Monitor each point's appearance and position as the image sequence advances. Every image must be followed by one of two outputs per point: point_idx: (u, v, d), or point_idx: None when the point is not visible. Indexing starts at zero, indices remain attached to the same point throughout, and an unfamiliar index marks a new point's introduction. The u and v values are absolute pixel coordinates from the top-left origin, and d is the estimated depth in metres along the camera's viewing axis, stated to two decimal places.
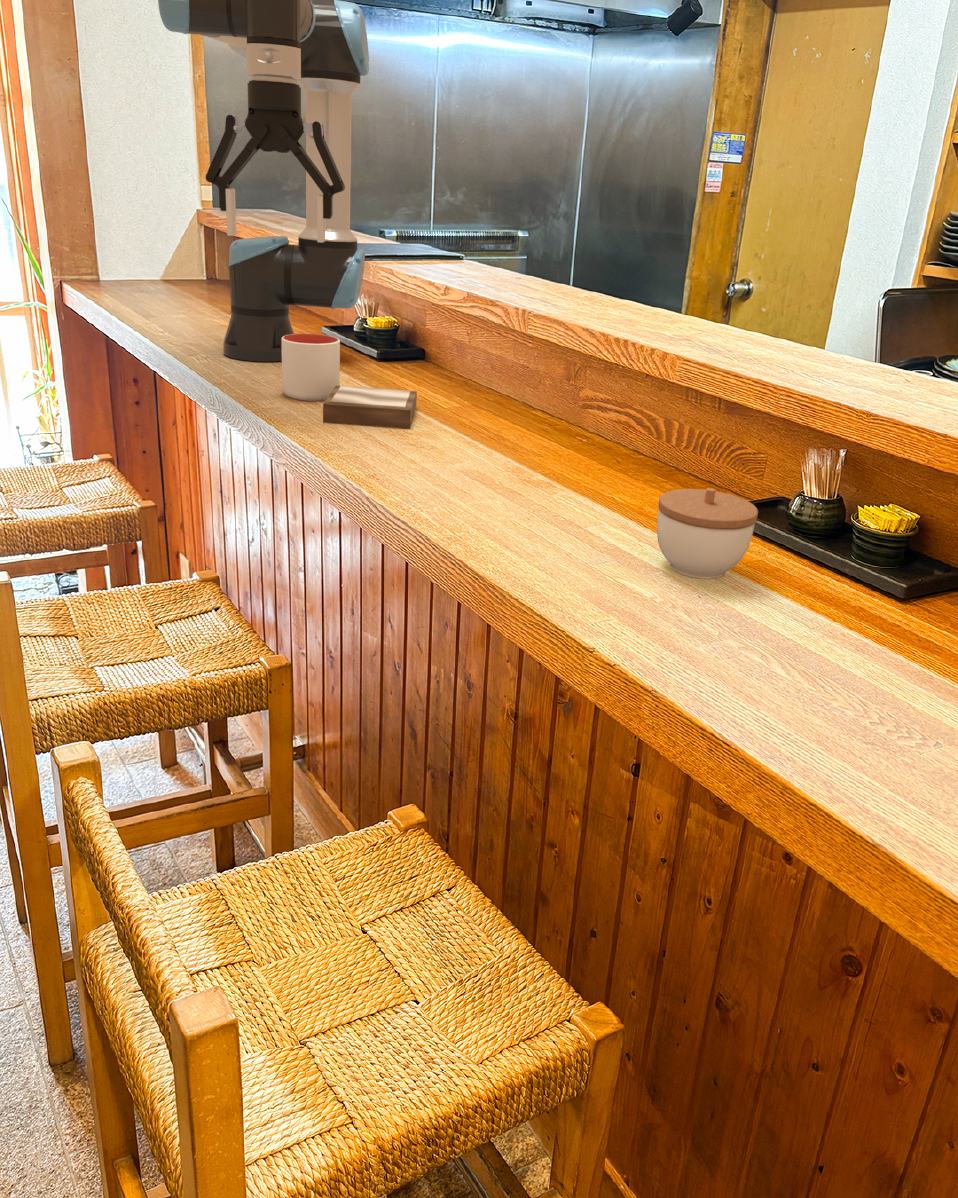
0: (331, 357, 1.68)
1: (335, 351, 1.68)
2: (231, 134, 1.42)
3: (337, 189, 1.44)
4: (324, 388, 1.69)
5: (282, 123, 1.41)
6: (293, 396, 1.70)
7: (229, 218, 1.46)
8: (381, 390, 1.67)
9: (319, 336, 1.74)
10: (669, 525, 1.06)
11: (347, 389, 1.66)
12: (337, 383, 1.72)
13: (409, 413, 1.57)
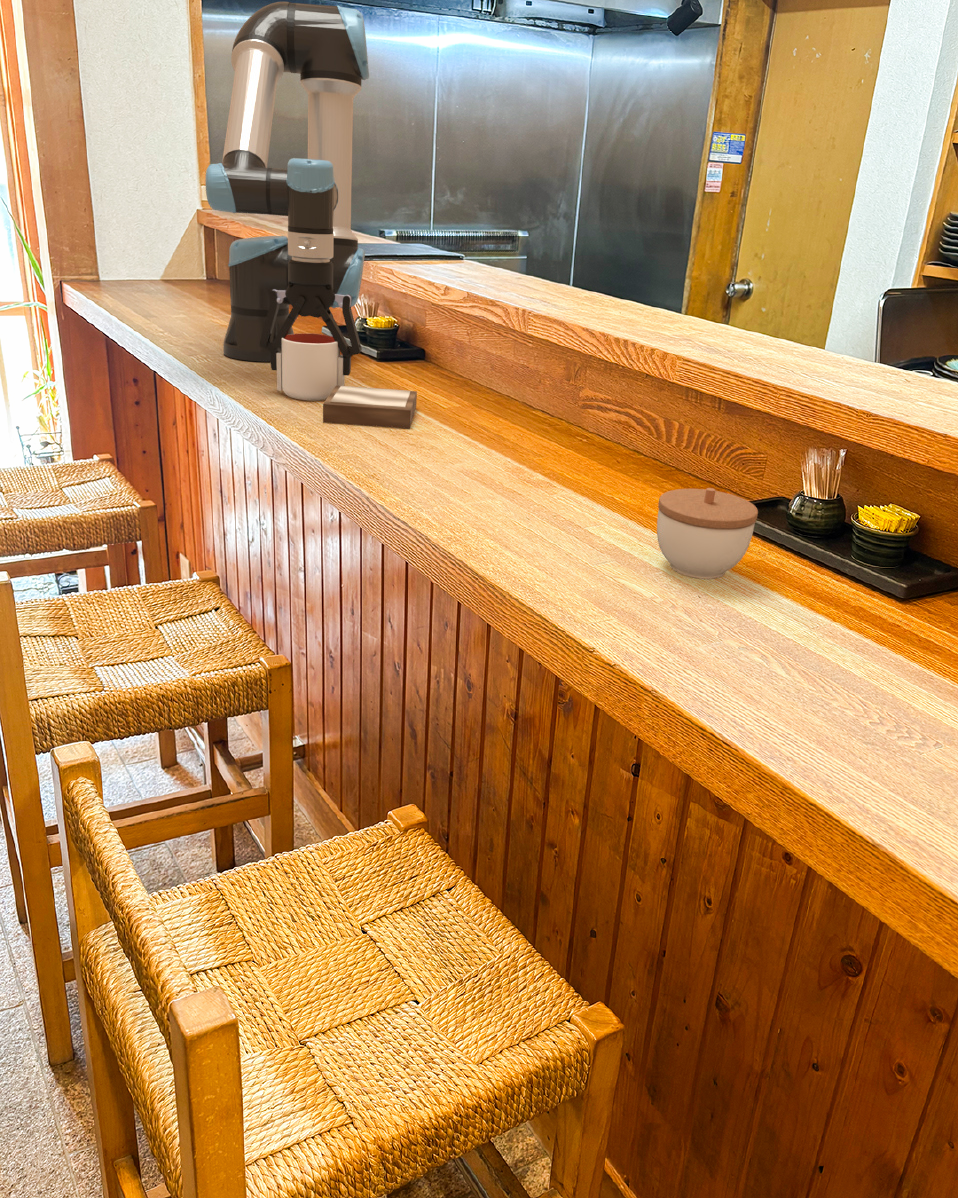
0: (330, 357, 1.68)
1: (335, 351, 1.68)
2: (275, 306, 1.66)
3: (355, 352, 1.69)
4: (324, 387, 1.69)
5: (317, 292, 1.65)
6: (293, 396, 1.70)
7: (279, 376, 1.71)
8: (381, 390, 1.67)
9: (319, 336, 1.74)
10: (669, 525, 1.05)
11: (347, 389, 1.66)
12: (337, 383, 1.72)
13: (409, 413, 1.57)
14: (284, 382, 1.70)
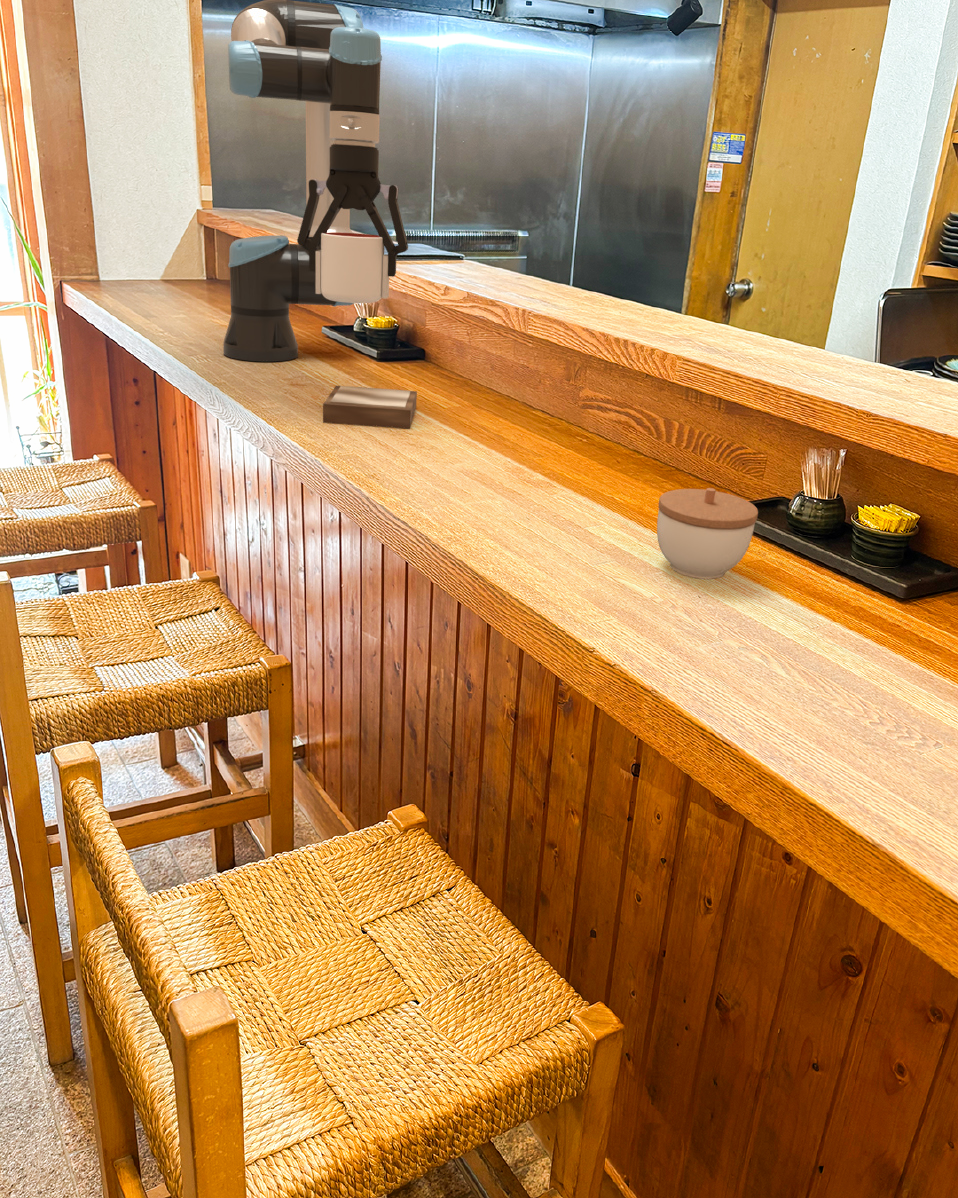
0: (375, 254, 1.53)
1: (379, 247, 1.53)
2: (315, 197, 1.52)
3: (401, 249, 1.54)
4: (367, 287, 1.54)
5: (361, 181, 1.51)
6: (333, 297, 1.55)
7: (318, 278, 1.56)
8: (381, 390, 1.67)
9: (361, 235, 1.59)
10: (669, 525, 1.05)
11: (347, 389, 1.66)
12: (381, 284, 1.57)
13: (409, 413, 1.57)
14: (323, 283, 1.55)
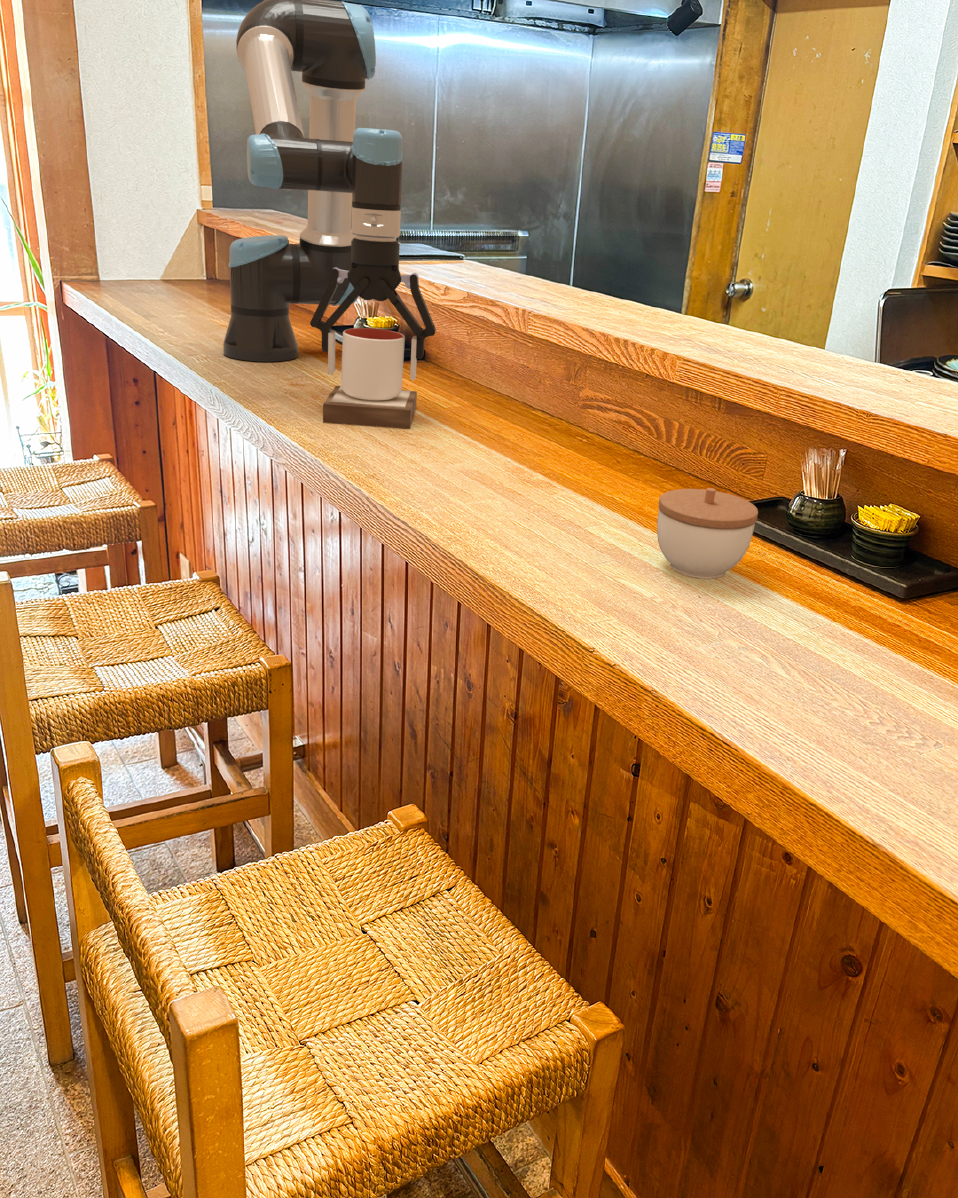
0: (396, 355, 1.57)
1: (400, 348, 1.57)
2: (335, 285, 1.54)
3: (430, 333, 1.57)
4: (388, 387, 1.58)
5: (382, 275, 1.53)
6: (354, 395, 1.58)
7: (330, 359, 1.59)
8: None
9: (380, 331, 1.63)
10: (669, 525, 1.05)
11: None
12: (400, 382, 1.61)
13: (409, 413, 1.57)
14: (344, 380, 1.59)
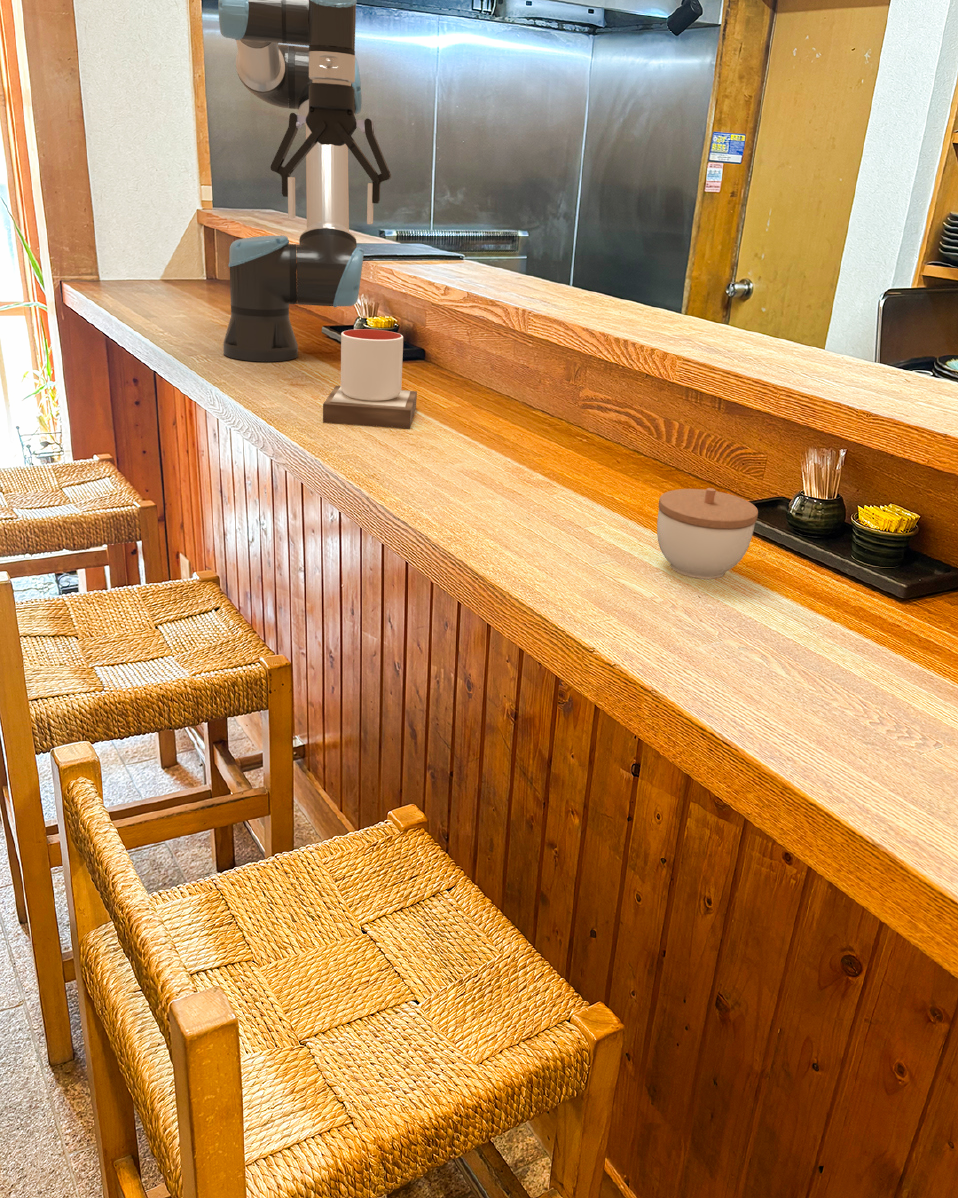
0: (395, 354, 1.57)
1: (399, 347, 1.57)
2: (294, 129, 1.63)
3: (385, 177, 1.66)
4: (388, 387, 1.58)
5: (338, 120, 1.63)
6: (354, 396, 1.58)
7: (290, 203, 1.68)
8: None
9: (379, 332, 1.63)
10: (669, 525, 1.05)
11: None
12: (400, 382, 1.61)
13: (409, 413, 1.57)
14: (344, 381, 1.59)
